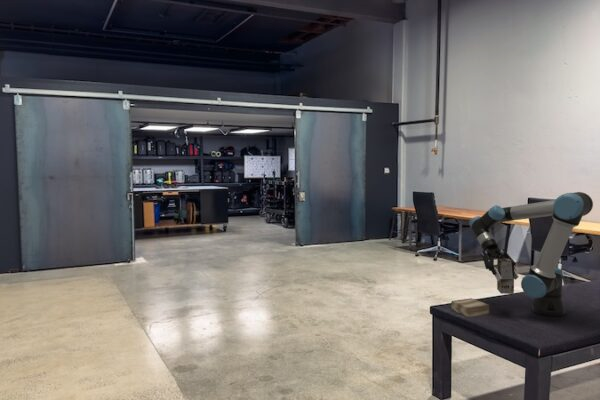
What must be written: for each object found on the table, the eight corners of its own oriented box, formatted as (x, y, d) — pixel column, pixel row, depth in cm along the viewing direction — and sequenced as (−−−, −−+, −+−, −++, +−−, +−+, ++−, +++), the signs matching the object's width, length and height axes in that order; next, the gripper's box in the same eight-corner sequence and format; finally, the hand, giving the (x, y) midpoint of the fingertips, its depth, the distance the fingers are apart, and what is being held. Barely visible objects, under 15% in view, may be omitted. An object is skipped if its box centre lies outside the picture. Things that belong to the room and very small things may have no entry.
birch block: (488, 314, 244) (489, 304, 244) (468, 317, 239) (468, 307, 239) (471, 307, 256) (471, 298, 256) (451, 310, 251) (451, 301, 251)
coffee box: (514, 294, 235) (514, 261, 234) (500, 293, 237) (500, 261, 235) (510, 289, 244) (510, 258, 243) (496, 289, 245) (496, 257, 244)
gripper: (501, 245, 258) (522, 281, 244) (466, 248, 252) (486, 284, 237) (508, 237, 252) (530, 273, 238) (472, 239, 246) (493, 276, 232)
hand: (508, 278), depth 238 cm, fingers closed on coffee box, 9 cm apart
